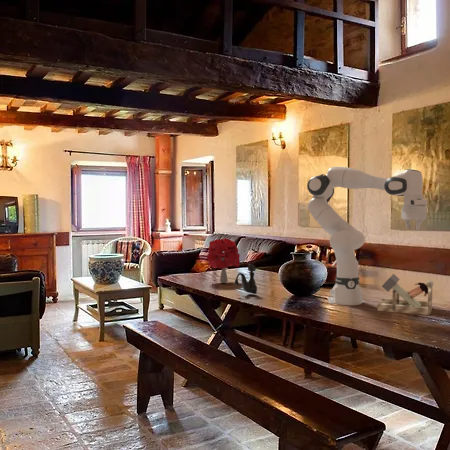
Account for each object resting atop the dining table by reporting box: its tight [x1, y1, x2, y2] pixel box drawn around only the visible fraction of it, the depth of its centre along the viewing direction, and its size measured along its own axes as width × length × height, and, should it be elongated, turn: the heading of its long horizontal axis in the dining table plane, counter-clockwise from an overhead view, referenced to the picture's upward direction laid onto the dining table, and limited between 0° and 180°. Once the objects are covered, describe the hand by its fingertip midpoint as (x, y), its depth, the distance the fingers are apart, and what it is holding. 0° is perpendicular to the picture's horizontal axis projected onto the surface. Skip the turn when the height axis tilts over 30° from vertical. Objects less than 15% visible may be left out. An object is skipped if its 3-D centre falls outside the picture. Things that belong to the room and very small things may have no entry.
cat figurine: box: [234, 262, 258, 295], centre depth 287 cm, size 10×14×18 cm
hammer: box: [381, 273, 421, 307], centre depth 241 cm, size 20×14×6 cm
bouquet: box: [206, 237, 241, 284], centre depth 333 cm, size 22×24×30 cm
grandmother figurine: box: [406, 280, 434, 299], centre depth 240 cm, size 8×4×13 cm
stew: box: [323, 260, 337, 284], centre depth 323 cm, size 28×24×16 cm
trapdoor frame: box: [377, 287, 433, 316], centre depth 240 cm, size 24×18×11 cm
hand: (413, 229), depth 246 cm, fingers open, 8 cm apart
